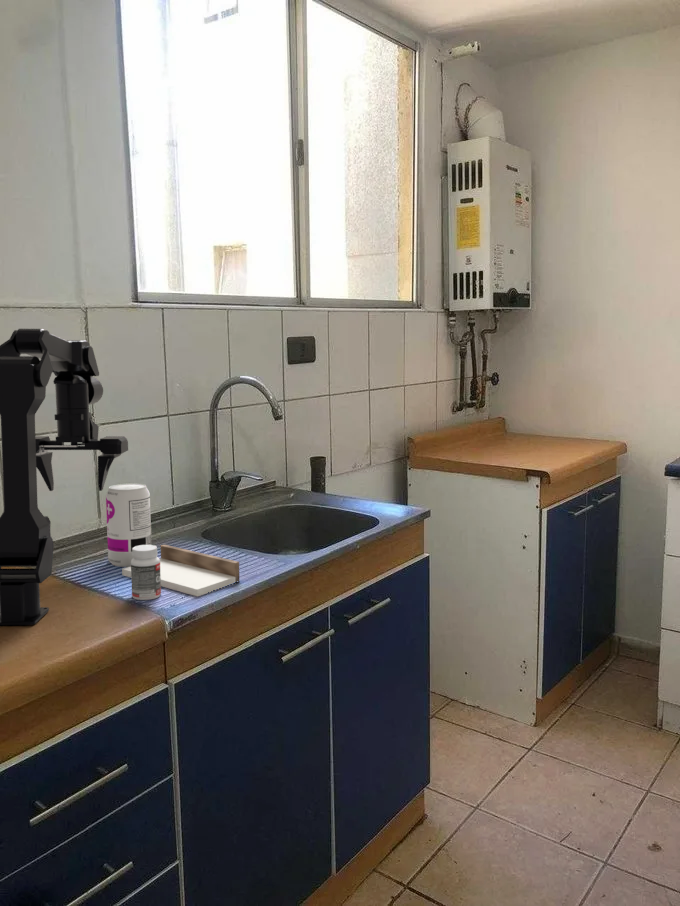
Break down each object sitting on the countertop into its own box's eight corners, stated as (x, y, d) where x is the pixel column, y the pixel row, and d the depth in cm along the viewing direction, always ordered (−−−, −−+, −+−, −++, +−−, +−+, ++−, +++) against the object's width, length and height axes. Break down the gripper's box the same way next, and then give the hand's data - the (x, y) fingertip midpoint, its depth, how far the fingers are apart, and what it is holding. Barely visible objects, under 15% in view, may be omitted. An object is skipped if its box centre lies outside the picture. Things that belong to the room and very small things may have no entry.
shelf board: (239, 582, 130) (239, 561, 129) (197, 596, 122) (197, 575, 121) (165, 563, 142) (164, 544, 141) (122, 575, 134) (121, 555, 133)
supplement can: (107, 569, 137) (104, 491, 135) (109, 557, 145) (106, 483, 143) (152, 566, 139) (149, 489, 137) (151, 555, 147) (149, 482, 145)
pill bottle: (162, 598, 121) (161, 549, 120) (133, 602, 119) (131, 552, 118) (158, 590, 125) (157, 542, 124) (130, 593, 123) (128, 545, 122)
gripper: (133, 405, 144) (136, 483, 146) (38, 405, 143) (41, 483, 145) (119, 409, 133) (121, 493, 135) (15, 409, 132) (19, 493, 134)
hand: (76, 490), depth 137 cm, fingers open, 9 cm apart
